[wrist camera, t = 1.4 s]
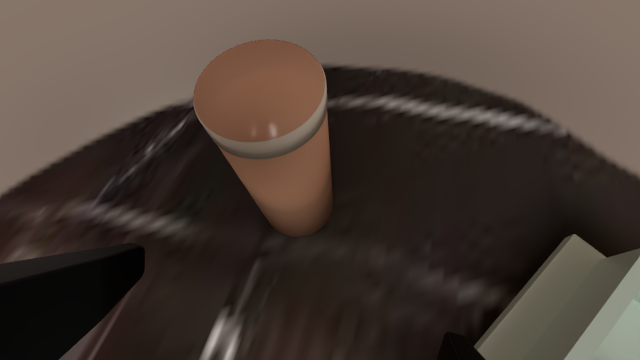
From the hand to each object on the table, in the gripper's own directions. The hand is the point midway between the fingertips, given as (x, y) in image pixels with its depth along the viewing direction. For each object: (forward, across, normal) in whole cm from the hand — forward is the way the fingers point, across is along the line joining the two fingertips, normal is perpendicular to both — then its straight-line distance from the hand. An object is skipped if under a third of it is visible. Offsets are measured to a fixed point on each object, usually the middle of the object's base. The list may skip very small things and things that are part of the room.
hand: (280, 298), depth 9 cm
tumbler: (+15, +4, +3) cm, 16 cm away
